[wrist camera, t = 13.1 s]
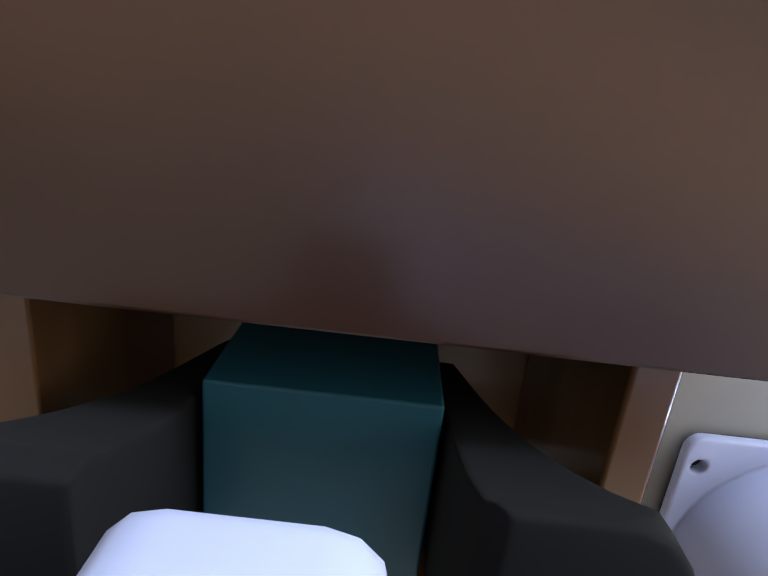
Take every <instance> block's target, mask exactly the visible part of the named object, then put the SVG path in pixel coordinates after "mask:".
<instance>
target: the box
mask: <svg viewBox="0 0 768 576" xmlns="http://www.w3.org/2000/svg"><path fill="white" fill-rule="evenodd" d="M444 409H445V408H444V399H443V390H442V381H441V372H440V363H439V354H438V345H437V344H430V343H421V342H412V341H403V340H395V339H386V338H377V337H368V336H359V335H350V334H341V333H332V332H323V331H315V330H306V329H297V328H288V327H279V326H270V325H261V324H252V323H243V322H242V323H241V325H240V326H239V328H238V329H237V331H236V332H235V334H234V335H233V336H232V338H231V339H230V341H229V342H228V344H227V345H226V347H225V348H224V350H223V351H222V353H221V354H220V355H219V357H218V358H217V360H216V361H215V363H214V364H213V366H212V367H211V369H210V370H209V372H208V373H207V374H206V376H205V377H204V379H203V381H202V424H203V513H209V514H218V515H227V516H236V517H244V518H253V519H262V520H271V521H280V522H289V523H298V524H307V525H316V526H324V527H328V528H331V529H334V530H337V531H340V532H343V533H346V534H349V535H352V536H355V537H358V538H361V539H362V540H363V541H364V542H365V543H366V544H367V545H368V546H369V547H370V548H371V549H372V550H373V551H374V552H375V553H376V554H377V555H378V556H379V557H380V558H381V559H382V560H383V561H384V562H385V567H386V572H387V576H417V575H418V569H419V562H420V556H421V550H422V544H423V538H424V532H425V526H426V520H427V513H428V507H429V501H430V495H431V489H432V483H433V477H434V470H435V464H436V458H437V452H438V446H439V440H440V434H441V427H442V421H443V415H444Z"/></svg>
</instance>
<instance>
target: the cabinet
mask: <svg viewBox="0 0 768 576" xmlns="http://www.w3.org/2000/svg"><path fill="white" fill-rule="evenodd" d="M0 295H3V296H12V297H21V298H30V299H39V300H48V301H57V302H66V303H74V304H83V305H92V306H101V307H110V308H119V309H128V310H137V311H146V312H155V313H163V314H172V315H181V316H190V317H199V318H208V319H217V320H226V321H235V322H243V323H252V324H261V325H270V326H279V327H288V328H297V329H306V330H315V331H323V332H332V333H341V334H350V335H359V336H368V337H377V338H386V339H395V340H403V341H412V342H421V343H430V344H439V345H448V346H457V347H466V348H475V349H483V350H492V351H501V352H510V353H519V354H528V355H537V356H546V357H555V358H564V359H572V360H581V361H590V362H599V363H608V364H617V365H626V366H635V367H644V368H652V369H661V370H670V371H679V372H688V373H697V374H706V375H715V376H724V377H732V378H741V379H750V380H759V381H768V0H0Z"/></svg>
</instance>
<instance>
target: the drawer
mask: <svg viewBox="0 0 768 576" xmlns="http://www.w3.org/2000/svg"><path fill="white" fill-rule="evenodd" d="M241 323H242V322H235V321H226V320H217V319H208V318H199V317H190V316H181V315H172V314H163V313H155V312H146V311H137V310H128V309H119V308H110V307H101V306H92V305H83V304H74V303H66V302H57V301H48V300H39V299H30V298H21V297H12V296H3V295H0V422H4V421H10V420H16V419H21V418H27V417H32V416H37V415H41V414H46V413H51V412H55V411H59V410H63V409H66V408H70V407H74V406H77V405H81V404H85V403H88V402H92V401H96V400H99V399H102V398H105V397H108V396H111V395H113V394H116V393H119V392H122V391H125V390H127V389H130V388H132V387H135V386H137V385H140V384H142V383H144V382H146V381H149V380H151V379H153V378H155V377H157V376H159V375H161V374H163V373H166V372H168V371H170V370H172V369H174V368H176V367H178V366H180V365H182V364H184V363H186V362H187V361H189V360H191V359H193V358H195V357H197V356H199V355H201V354H202V353H204V352H206V351H208V350H210V349H212V348H213V347H215V346H217V345H219V344H221V343H223V342H225V341H227V340H230V339H231V338H232V336H233V335H234V334H235V332H236V331H237V329H238V328H239V326H240V325H241ZM437 345H438V354H439V362H443V363H452V364H454V365H455V367H456V368H457V369H458V370H459V372H460V373H461V374H462V375H463V377H464V378H465V379H466V381H467V382H468V383H469V384H470V385H471V387H472V388H473V389H474V390H475V391H476V393H477V394H478V395H479V396H480V397H481V398H482V400H483V401H484V402H485V403H486V404H487V405H488V406H489V407H490V408H491V409H492V410H493V411H494V412H495V413H496V414H497V415H498V416H499V417H500V418H501V419H502V420H503V421H504V422H505V423H506V424H507V425H508V426H509V427H510V428H511V429H513V430H514V431H515V432H516V433H517V434H518V435H520V436H521V437H522V438H523V439H525V440H526V441H527V442H529V443H530V444H531V445H532V446H534V447H535V448H536V449H538V450H539V451H540V452H542V453H543V454H545V455H546V456H548V457H549V458H551V459H552V460H554V461H556V462H557V463H559V464H560V465H562V466H563V467H565V468H567V469H568V470H570V471H572V472H573V473H575V474H577V475H579V476H581V477H582V478H584V479H586V480H588V481H590V482H592V483H594V484H596V485H598V486H600V487H602V488H604V489H606V490H608V491H610V492H612V493H614V494H617V495H619V496H622V497H624V498H627V499H629V500H632V501H634V502H636V503H639V504H641V501H642V498H643V495H644V492H645V489H646V486H647V482H648V479H649V476H650V473H651V470H652V467H653V464H654V461H655V458H656V454H657V451H658V448H659V445H660V442H661V439H662V436H663V433H664V429H665V426H666V423H667V420H668V417H669V414H670V411H671V408H672V405H673V401H674V398H675V395H676V392H677V389H678V386H679V383H680V380H681V377H682V373H683V372H679V371H670V370H661V369H652V368H644V367H635V366H626V365H617V364H608V363H599V362H590V361H581V360H572V359H564V358H555V357H546V356H537V355H528V354H519V353H510V352H501V351H492V350H483V349H475V348H466V347H457V346H448V345H439V344H437ZM417 576H425V565H424V550H423V544H422V550H421V556H420V562H419V569H418V575H417Z"/></svg>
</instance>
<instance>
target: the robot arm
mask: <svg viewBox="0 0 768 576" xmlns="http://www.w3.org/2000/svg"><path fill="white" fill-rule="evenodd" d="M229 341H230V340H227V341H225V342H223V343H221V344H219V345H217V346H215V347H213V348H212V349H210V350H208V351H206V352H204V353H202V354H201V355H199V356H197V357H195V358H193V359H191V360H189V361H187V362H186V363H184V364H182V365H180V366H178V367H176V368H174V369H172V370H170V371H168V372H166V373H163V374H161V375H159V376H157V377H155V378H153V379H151V380H149V381H146V382H144V383H142V384H140V385H137V386H135V387H132V388H130V389H127V390H125V391H122V392H119V393H116V394H113V395H111V396H108V397H105V398H102V399H99V400H96V401H92V402H88V403H85V404H81V405H77V406H74V407H70V408H66V409H63V410H59V411H55V412H51V413H46V414H41V415H37V416H32V417H27V418H21V419H16V420H10V421H4V422H0V576H387V572H386V567H385V562H384V561H383V560H382V559H381V558H380V557H379V556H378V555H377V554H376V553H375V552H374V551H373V550H372V549H371V548H370V547H369V546H368V545H367V544H366V543H365V542H364V541H363V540H362V539H361V538H358V537H355V536H352V535H349V534H346V533H343V532H340V531H337V530H334V529H331V528H328V527H324V526H316V525H307V524H298V523H289V522H280V521H271V520H262V519H253V518H244V517H236V516H227V515H218V514H209V513H203V424H202V381H203V379H204V377H205V376H206V374H207V373H208V372H209V370H210V369H211V367H212V366H213V364H214V363H215V361H216V360H217V358H218V357H219V355H220V354H221V353H222V351H223V350H224V348H225V347H226V345H227V344H228V342H229ZM439 363H440V372H441V381H442V390H443V399H444V408H445V409H444V415H443V421H442V427H441V434H440V440H439V446H438V452H437V458H436V464H435V470H434V477H433V483H432V489H431V495H430V501H429V507H428V513H427V520H426V526H425V532H424V538H423V550H424V565H425V576H768V440H761V439H752V438H743V437H734V436H725V435H716V434H708V433H696V434H693V435H691V436H689V437H688V438H687V439H685V441H684V443H683V444H682V447H681V450H680V453H679V456H678V459H677V462H676V465H675V468H674V471H673V473H672V476H671V479H670V482H669V485H668V488H667V491H666V494H665V497H664V500H663V503H662V506H661V509H660V512H659V511H656V510H654V509H651V508H649V507H646V506H644V505H641V504H639V503H636V502H634V501H632V500H629V499H627V498H624V497H622V496H619V495H617V494H614V493H612V492H610V491H608V490H606V489H604V488H602V487H600V486H598V485H596V484H594V483H592V482H590V481H588V480H586V479H584V478H582V477H581V476H579V475H577V474H575V473H573V472H572V471H570V470H568V469H567V468H565V467H563V466H562V465H560V464H559V463H557V462H556V461H554V460H552V459H551V458H549V457H548V456H546V455H545V454H543V453H542V452H540V451H539V450H538V449H536V448H535V447H534V446H532V445H531V444H530V443H529V442H527V441H526V440H525V439H523V438H522V437H521V436H520V435H518V434H517V433H516V432H515V431H514V430H513V429H511V428H510V427H509V426H508V425H507V424H506V423H505V422H504V421H503V420H502V419H501V418H500V417H499V416H498V415H497V414H496V413H495V412H494V411H493V410H492V409H491V408H490V407H489V406H488V405H487V404H486V403H485V402H484V401H483V400H482V398H481V397H480V396H479V395H478V394H477V393H476V391H475V390H474V389H473V388H472V387H471V385H470V384H469V383H468V382H467V381H466V379H465V378H464V377H463V375H462V374H461V373H460V372H459V370H458V369H457V368H456V367H455V365H454V364H452V363H443V362H439ZM696 460H701V461H700V462H699V463H698V464H697V465H695V466H690V465H691V464H692V463H693V462H694V461H696Z"/></svg>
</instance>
